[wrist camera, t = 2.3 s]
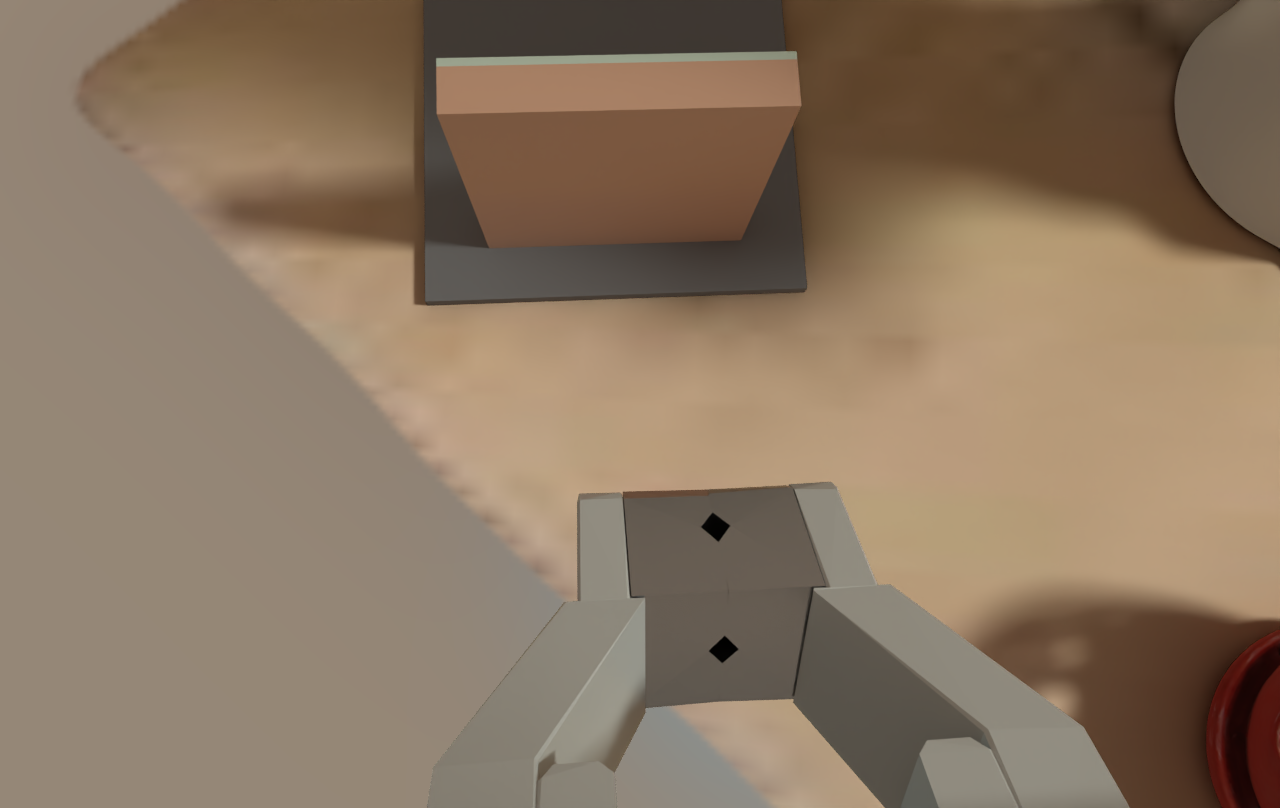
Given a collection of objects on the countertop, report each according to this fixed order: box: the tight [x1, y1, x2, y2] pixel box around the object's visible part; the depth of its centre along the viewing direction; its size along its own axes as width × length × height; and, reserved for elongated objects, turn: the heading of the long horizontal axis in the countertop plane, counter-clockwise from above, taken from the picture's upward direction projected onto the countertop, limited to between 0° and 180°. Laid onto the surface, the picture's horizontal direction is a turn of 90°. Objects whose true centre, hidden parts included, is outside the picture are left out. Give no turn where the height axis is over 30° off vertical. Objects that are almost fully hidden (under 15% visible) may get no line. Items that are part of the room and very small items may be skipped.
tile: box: [436, 51, 802, 248], centre depth 32 cm, size 12×2×12 cm, turn 93°
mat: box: [424, 0, 807, 305], centre depth 40 cm, size 18×20×1 cm
